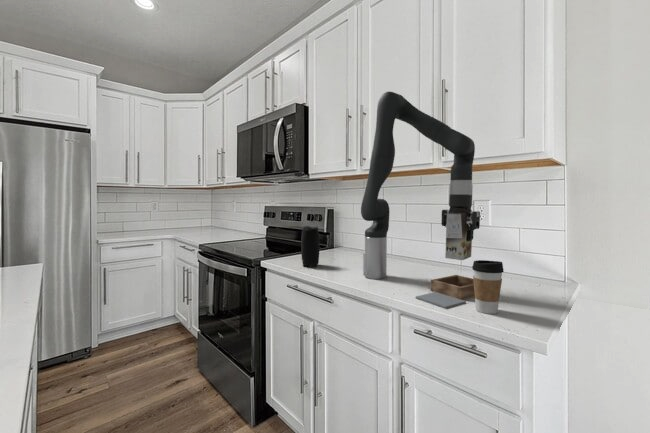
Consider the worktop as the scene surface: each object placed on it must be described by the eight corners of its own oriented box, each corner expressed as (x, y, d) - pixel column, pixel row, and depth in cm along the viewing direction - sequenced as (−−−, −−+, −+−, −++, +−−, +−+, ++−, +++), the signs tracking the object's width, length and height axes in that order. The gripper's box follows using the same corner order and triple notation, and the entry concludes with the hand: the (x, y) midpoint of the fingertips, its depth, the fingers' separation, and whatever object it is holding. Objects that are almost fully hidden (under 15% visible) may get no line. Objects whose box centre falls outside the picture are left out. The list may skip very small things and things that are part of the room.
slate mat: (415, 298, 110) (415, 296, 110) (435, 293, 115) (435, 291, 115) (445, 308, 99) (445, 306, 99) (465, 303, 105) (465, 301, 105)
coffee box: (463, 260, 111) (465, 213, 109) (444, 258, 115) (446, 213, 114) (471, 256, 118) (473, 212, 116) (453, 254, 122) (455, 211, 121)
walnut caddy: (430, 290, 118) (430, 279, 118) (456, 284, 126) (456, 274, 125) (460, 299, 108) (460, 288, 107) (486, 293, 115) (486, 281, 115)
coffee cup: (493, 317, 92) (495, 265, 91) (465, 309, 99) (466, 260, 98) (507, 311, 97) (509, 261, 96) (480, 304, 104) (481, 257, 103)
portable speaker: (321, 264, 164) (321, 226, 163) (314, 268, 156) (314, 227, 154) (306, 263, 167) (306, 225, 166) (298, 267, 159) (298, 227, 157)
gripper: (436, 193, 119) (435, 238, 120) (472, 193, 106) (470, 243, 108) (450, 193, 123) (448, 236, 124) (486, 193, 110) (484, 241, 112)
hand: (459, 239), depth 116 cm, fingers closed on coffee box, 7 cm apart
